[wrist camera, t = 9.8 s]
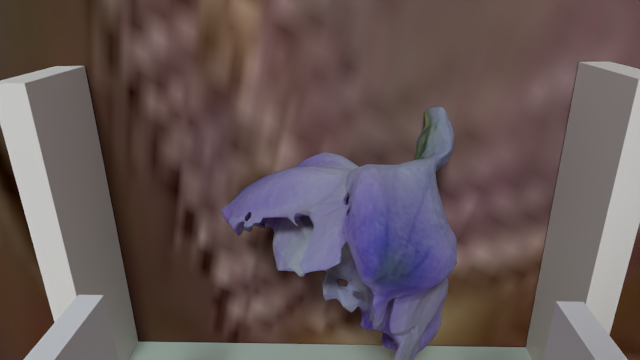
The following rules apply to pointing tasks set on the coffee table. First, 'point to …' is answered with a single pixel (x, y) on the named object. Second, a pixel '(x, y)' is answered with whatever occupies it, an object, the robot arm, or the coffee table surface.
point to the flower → (365, 233)
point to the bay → (109, 280)
